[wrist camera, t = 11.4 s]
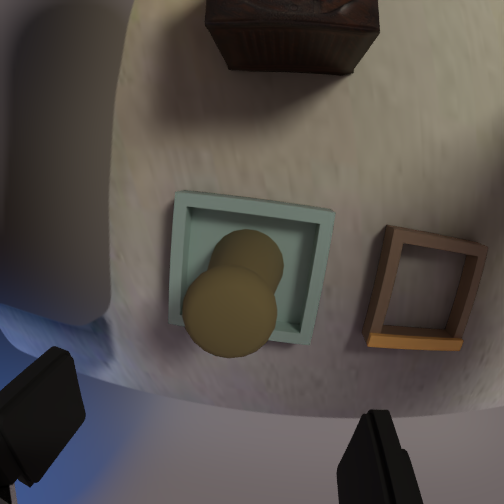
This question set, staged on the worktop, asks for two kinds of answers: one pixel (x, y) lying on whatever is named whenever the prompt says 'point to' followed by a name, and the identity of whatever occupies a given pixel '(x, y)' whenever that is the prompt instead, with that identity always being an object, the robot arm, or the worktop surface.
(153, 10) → the worktop surface
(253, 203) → the tray
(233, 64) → the brown coffee grinder
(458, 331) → the holder frame
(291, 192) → the worktop surface
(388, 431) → the robot arm
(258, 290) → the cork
